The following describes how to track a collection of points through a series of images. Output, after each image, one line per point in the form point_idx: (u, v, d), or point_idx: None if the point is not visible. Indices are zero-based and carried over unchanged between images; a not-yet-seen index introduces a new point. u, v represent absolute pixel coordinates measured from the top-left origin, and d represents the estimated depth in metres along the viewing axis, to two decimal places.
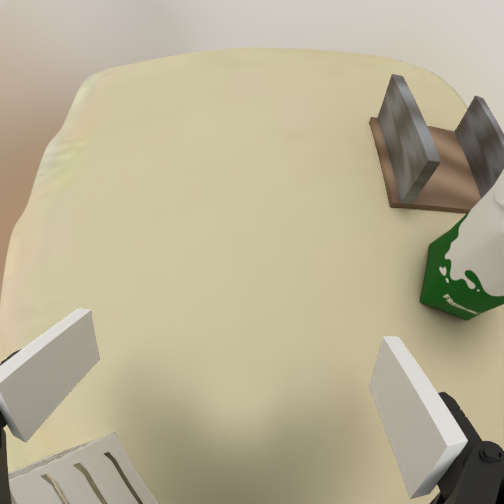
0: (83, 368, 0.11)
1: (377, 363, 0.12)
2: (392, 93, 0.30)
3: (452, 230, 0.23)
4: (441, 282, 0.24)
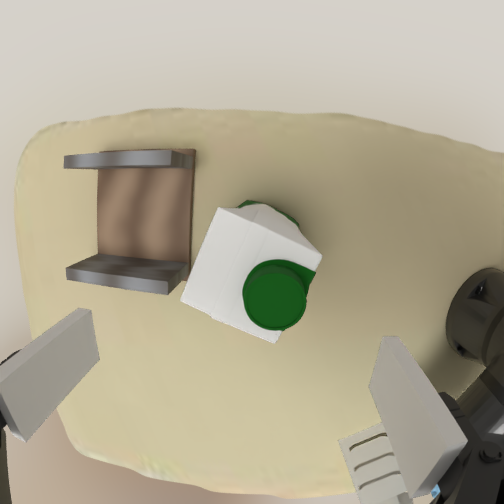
0: (83, 368, 0.11)
1: (377, 363, 0.12)
2: None
3: None
4: None
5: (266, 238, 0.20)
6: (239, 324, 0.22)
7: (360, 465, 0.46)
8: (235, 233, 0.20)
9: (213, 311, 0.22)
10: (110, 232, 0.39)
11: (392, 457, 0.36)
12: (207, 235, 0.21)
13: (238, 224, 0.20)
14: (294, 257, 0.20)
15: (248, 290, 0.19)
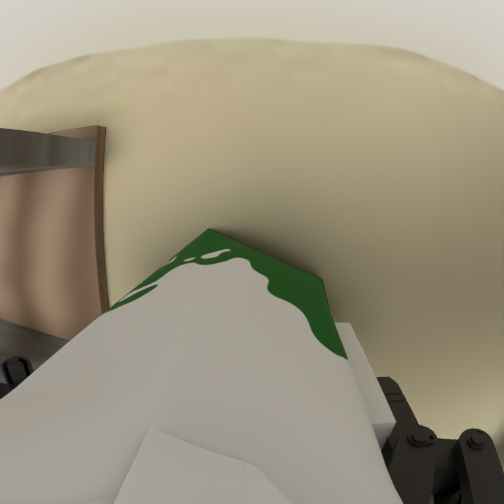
0: None
1: None
2: None
3: None
4: None
5: None
6: None
7: None
8: None
9: None
10: None
11: None
12: None
13: None
14: None
15: None
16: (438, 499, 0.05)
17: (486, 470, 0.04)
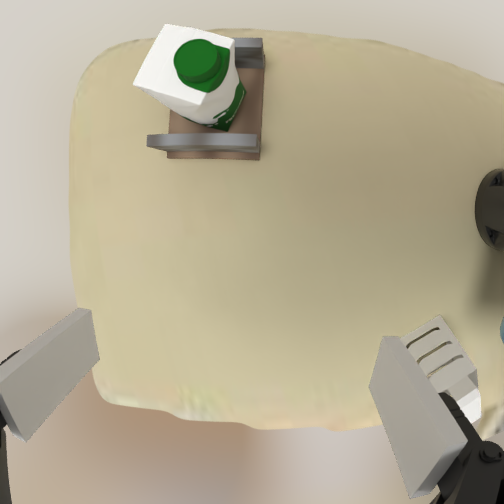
0: (83, 368, 0.11)
1: (377, 363, 0.12)
2: (164, 147, 0.37)
3: (182, 116, 0.35)
4: (217, 125, 0.37)
5: (194, 33, 0.23)
6: (173, 92, 0.25)
7: None
8: (175, 34, 0.23)
9: (155, 85, 0.25)
10: (183, 121, 0.42)
11: (451, 345, 0.39)
12: (156, 39, 0.23)
13: (177, 29, 0.23)
14: (213, 42, 0.23)
15: (176, 51, 0.22)
16: None
17: None
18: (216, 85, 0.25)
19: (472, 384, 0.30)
